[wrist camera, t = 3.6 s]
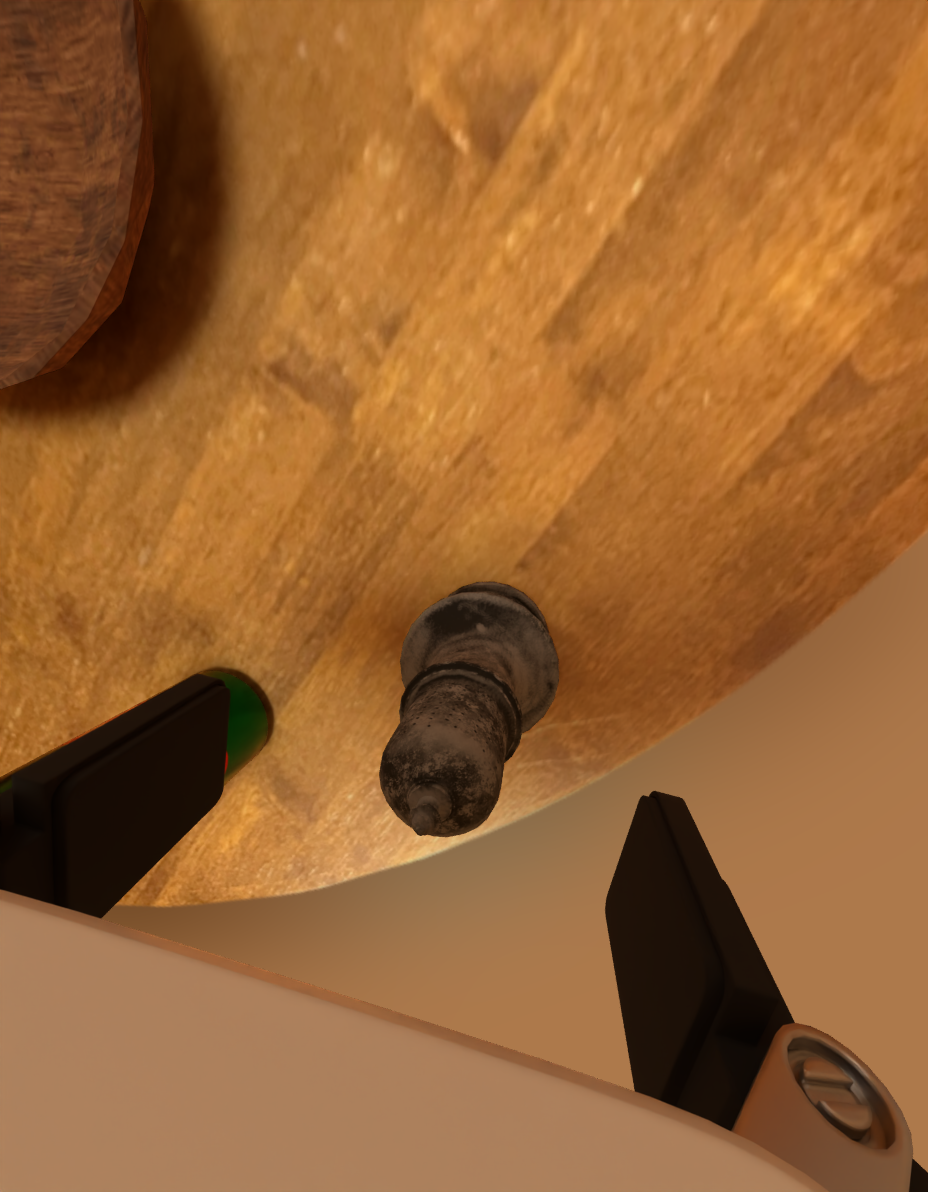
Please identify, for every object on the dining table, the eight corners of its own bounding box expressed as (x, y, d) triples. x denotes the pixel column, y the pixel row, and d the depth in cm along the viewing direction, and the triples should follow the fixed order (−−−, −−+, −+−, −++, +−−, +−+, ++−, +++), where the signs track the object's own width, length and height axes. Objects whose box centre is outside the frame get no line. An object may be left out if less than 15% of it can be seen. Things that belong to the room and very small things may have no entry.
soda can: (228, 646, 23) (-94, 808, 11) (294, 726, 23) (48, 961, 12) (164, 700, 24) (-184, 894, 13) (228, 775, 24) (-52, 1030, 13)
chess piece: (505, 726, 21) (461, 1006, 10) (399, 653, 21) (232, 845, 10) (584, 626, 20) (644, 820, 8) (470, 547, 20) (369, 628, 8)
